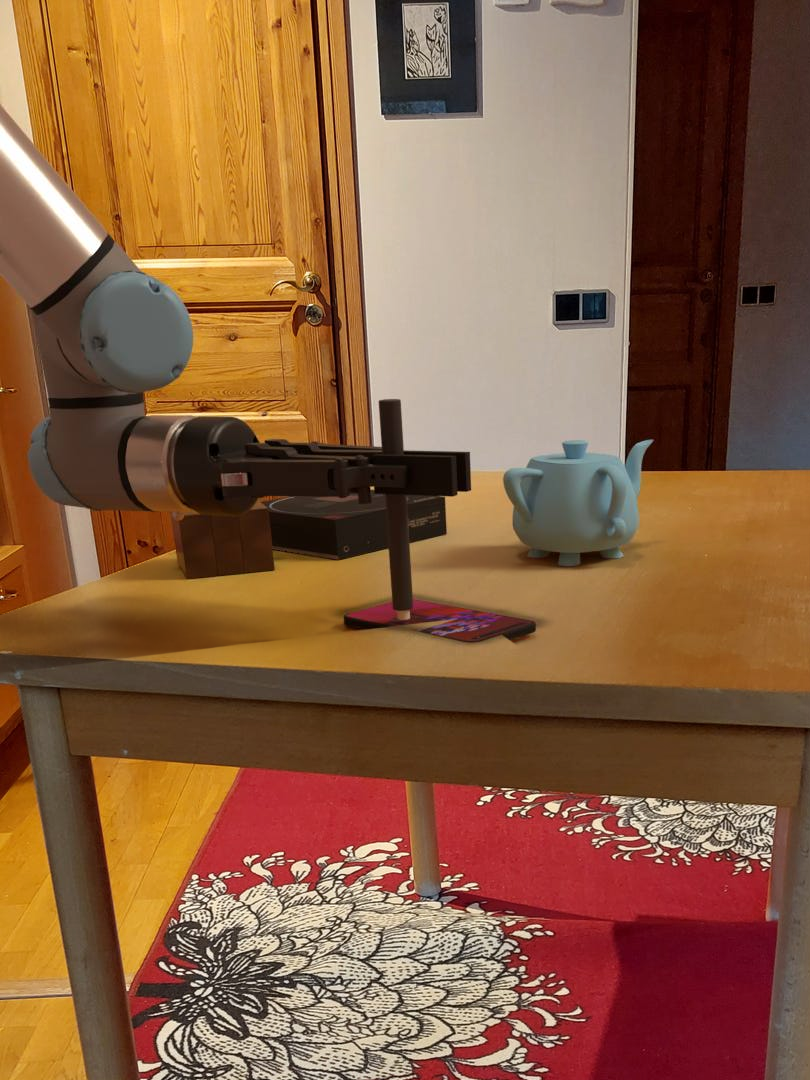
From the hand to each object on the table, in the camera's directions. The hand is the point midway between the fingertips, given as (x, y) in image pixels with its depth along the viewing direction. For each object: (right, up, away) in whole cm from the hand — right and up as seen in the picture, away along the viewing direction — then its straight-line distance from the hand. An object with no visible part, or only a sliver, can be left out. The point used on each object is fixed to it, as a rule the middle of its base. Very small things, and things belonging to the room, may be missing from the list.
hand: (460, 474), depth 84 cm
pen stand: (-24, +2, +34) cm, 42 cm away
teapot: (+12, +2, +33) cm, 35 cm away
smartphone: (-2, -10, +8) cm, 13 cm away
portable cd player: (-14, +7, +46) cm, 48 cm away
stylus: (-5, -9, +7) cm, 12 cm away
